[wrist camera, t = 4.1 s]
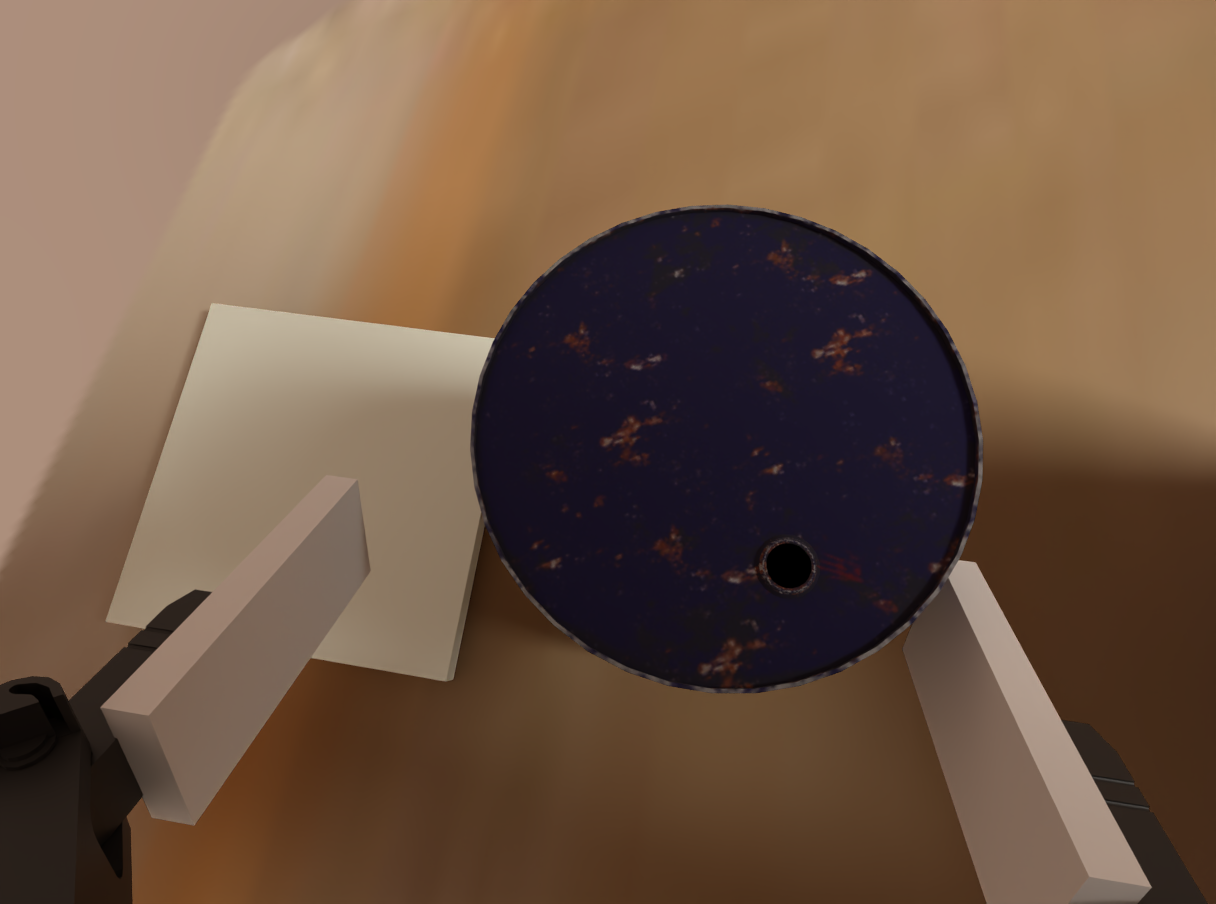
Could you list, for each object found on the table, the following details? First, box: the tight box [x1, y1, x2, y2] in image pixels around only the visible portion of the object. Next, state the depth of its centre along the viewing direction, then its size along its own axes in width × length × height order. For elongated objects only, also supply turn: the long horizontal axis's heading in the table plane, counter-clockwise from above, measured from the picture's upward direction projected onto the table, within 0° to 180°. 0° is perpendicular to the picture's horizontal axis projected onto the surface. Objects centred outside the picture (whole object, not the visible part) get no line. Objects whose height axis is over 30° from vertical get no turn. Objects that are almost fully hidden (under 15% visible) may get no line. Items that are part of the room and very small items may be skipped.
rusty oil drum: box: [470, 205, 983, 693], centre depth 20 cm, size 10×10×15 cm
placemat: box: [105, 303, 494, 681], centre depth 28 cm, size 14×14×1 cm
